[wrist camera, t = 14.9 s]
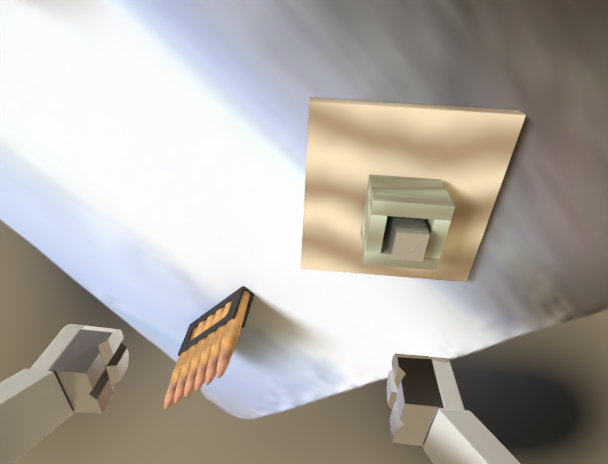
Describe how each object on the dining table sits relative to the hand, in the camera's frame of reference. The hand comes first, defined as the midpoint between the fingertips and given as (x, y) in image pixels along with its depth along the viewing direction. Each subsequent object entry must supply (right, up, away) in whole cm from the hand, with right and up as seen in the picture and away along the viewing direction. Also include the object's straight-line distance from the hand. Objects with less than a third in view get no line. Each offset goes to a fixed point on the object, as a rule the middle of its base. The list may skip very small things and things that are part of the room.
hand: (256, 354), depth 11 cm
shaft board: (+11, +7, +27) cm, 30 cm away
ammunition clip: (-9, -6, +37) cm, 39 cm away
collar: (+10, +6, +25) cm, 27 cm away
